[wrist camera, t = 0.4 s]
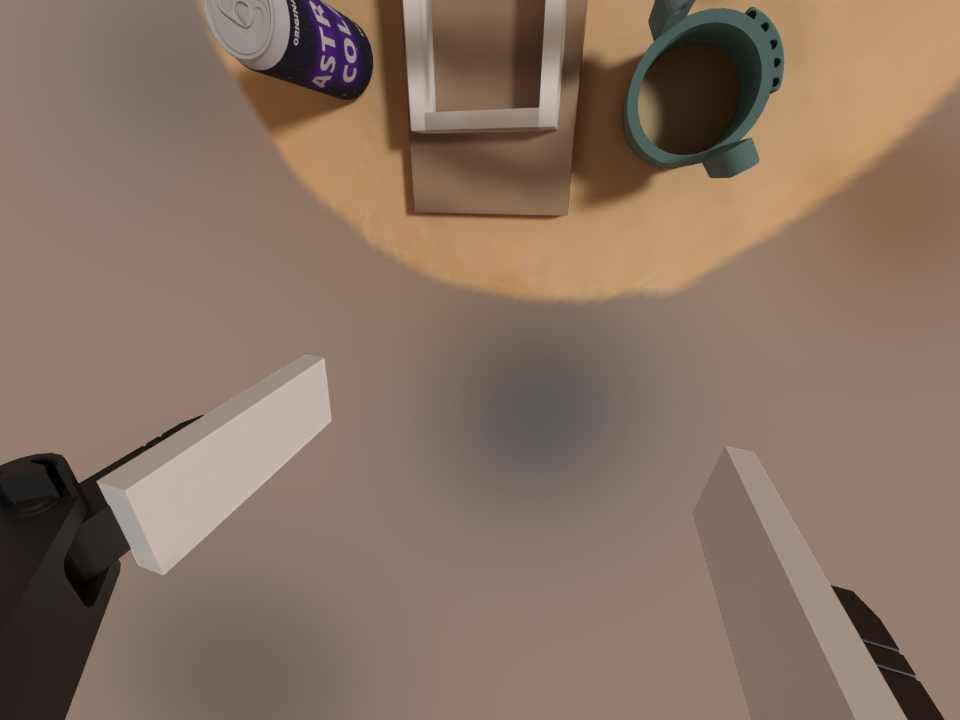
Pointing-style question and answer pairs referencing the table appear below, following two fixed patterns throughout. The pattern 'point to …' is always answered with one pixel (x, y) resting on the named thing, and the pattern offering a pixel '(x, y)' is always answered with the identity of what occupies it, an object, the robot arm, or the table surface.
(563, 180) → the can holder
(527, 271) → the table surface
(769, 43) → the teal cauldron pot
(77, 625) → the robot arm
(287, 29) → the beverage can
